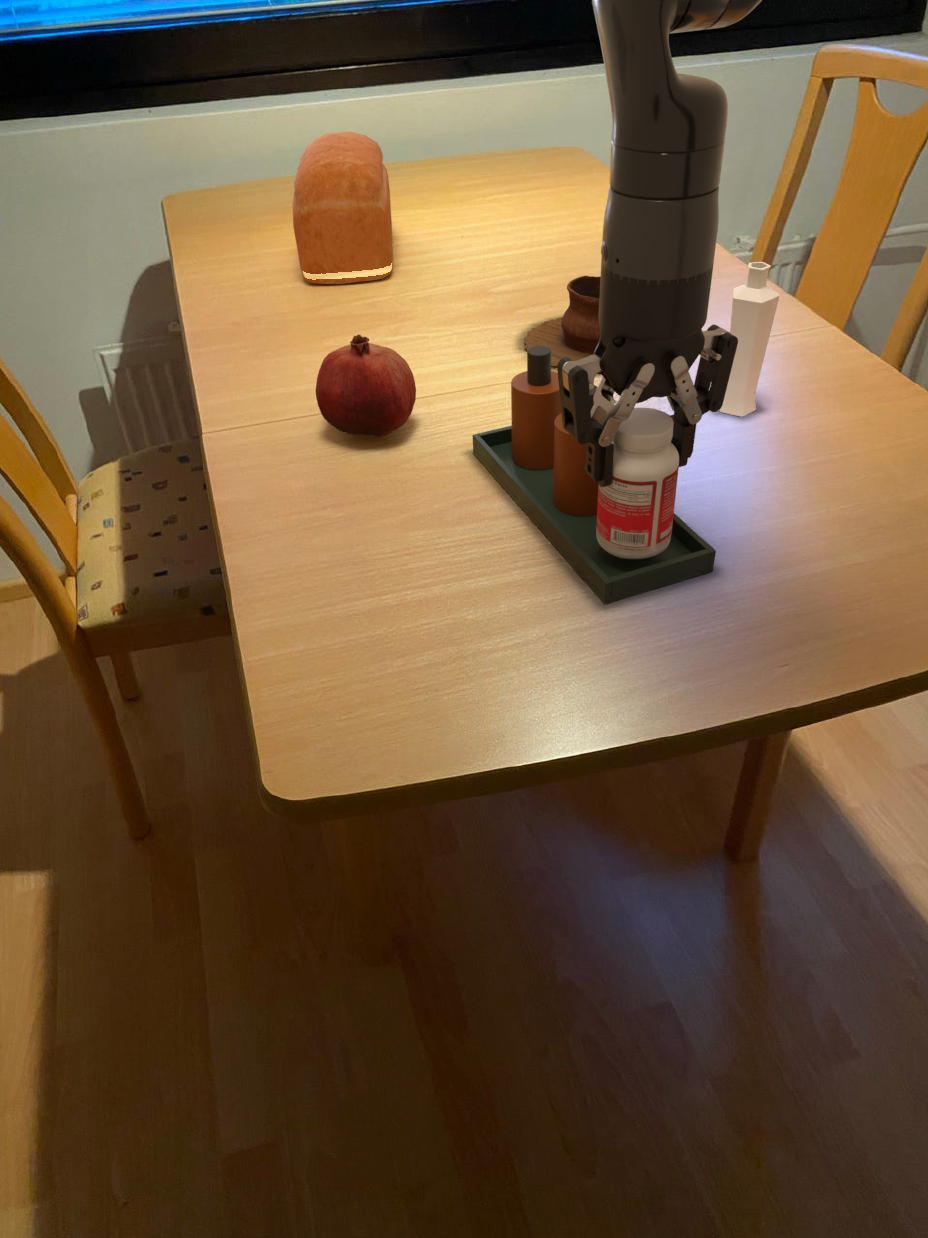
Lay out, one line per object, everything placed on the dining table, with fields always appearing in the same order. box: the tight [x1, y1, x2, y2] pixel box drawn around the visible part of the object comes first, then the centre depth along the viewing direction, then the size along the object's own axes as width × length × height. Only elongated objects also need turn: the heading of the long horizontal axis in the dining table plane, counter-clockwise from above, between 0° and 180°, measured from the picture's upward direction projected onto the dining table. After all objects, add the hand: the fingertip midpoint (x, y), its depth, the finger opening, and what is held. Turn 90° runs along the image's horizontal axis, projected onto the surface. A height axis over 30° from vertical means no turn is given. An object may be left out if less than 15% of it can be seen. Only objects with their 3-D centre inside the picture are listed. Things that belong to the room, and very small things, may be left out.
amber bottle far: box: [510, 346, 561, 470], centre depth 88 cm, size 5×5×11 cm
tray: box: [472, 425, 717, 605], centre depth 85 cm, size 10×27×2 cm, turn 22°
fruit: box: [315, 334, 417, 438], centre depth 95 cm, size 11×10×10 cm
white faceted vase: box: [719, 261, 781, 418], centre depth 94 cm, size 5×4×15 cm
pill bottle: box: [596, 407, 680, 559], centre depth 74 cm, size 6×6×11 cm
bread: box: [292, 131, 394, 285], centre depth 138 cm, size 14×26×16 cm, turn 4°
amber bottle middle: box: [553, 384, 598, 516], centre depth 82 cm, size 5×5×11 cm
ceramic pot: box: [522, 275, 601, 367], centre depth 111 cm, size 18×18×7 cm
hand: (638, 471), depth 73 cm, fingers closed on pill bottle, 6 cm apart
